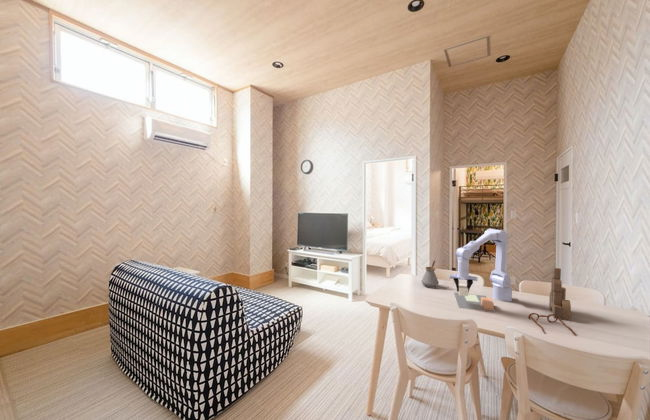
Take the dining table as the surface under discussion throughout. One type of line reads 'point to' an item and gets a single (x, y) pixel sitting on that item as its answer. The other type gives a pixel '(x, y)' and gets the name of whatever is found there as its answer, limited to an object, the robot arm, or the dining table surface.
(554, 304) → the wooden toy
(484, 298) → the terracotta brick
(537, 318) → the glasses
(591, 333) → the dining table surface
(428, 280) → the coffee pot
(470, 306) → the baseplate
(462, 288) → the cream brick
